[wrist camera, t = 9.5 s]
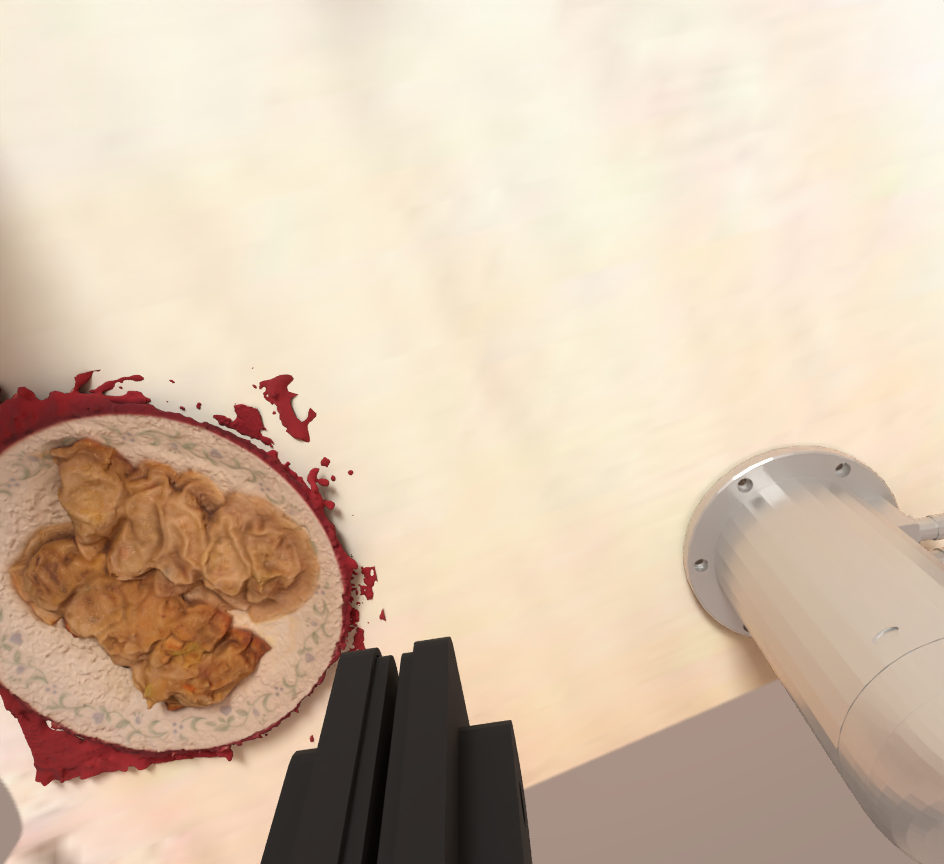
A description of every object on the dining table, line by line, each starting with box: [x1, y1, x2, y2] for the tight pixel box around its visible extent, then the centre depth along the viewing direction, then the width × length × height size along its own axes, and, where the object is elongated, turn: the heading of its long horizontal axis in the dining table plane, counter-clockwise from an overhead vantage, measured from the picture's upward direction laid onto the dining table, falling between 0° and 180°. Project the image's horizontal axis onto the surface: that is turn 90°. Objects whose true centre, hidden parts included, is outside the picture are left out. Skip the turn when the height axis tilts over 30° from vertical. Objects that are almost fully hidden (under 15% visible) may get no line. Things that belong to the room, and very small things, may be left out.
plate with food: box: [0, 368, 385, 786], centre depth 42 cm, size 25×26×4 cm
